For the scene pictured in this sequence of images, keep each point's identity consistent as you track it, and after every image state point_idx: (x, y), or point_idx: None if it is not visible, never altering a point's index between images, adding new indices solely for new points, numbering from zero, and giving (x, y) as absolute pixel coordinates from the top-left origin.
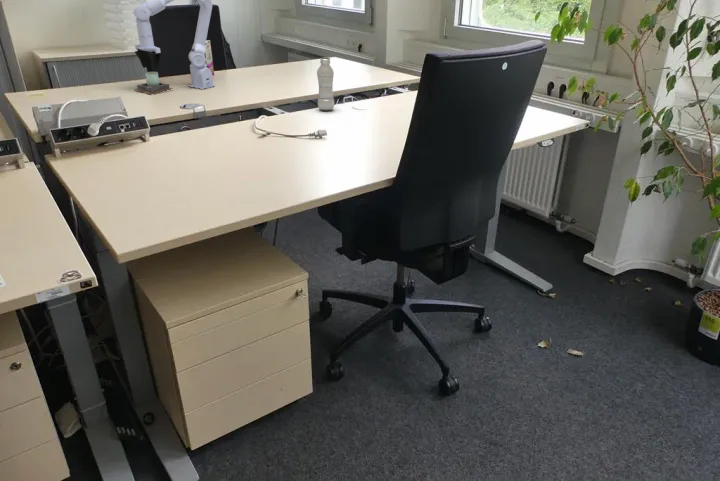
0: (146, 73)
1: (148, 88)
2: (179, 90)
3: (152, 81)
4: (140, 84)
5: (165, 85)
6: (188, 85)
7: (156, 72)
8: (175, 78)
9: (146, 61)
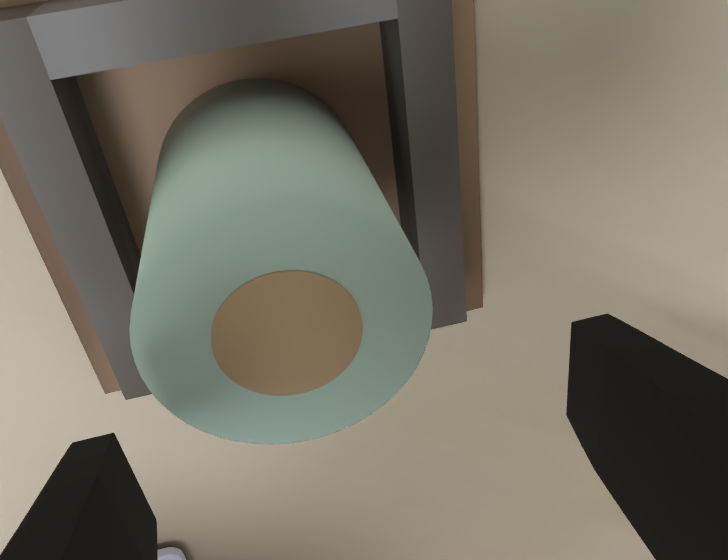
0: (322, 226)
1: (56, 10)
2: (36, 424)
3: (157, 200)
4: (440, 29)
5: (104, 339)
6: (173, 557)
7: (272, 428)
8: (621, 540)
9: (656, 525)
